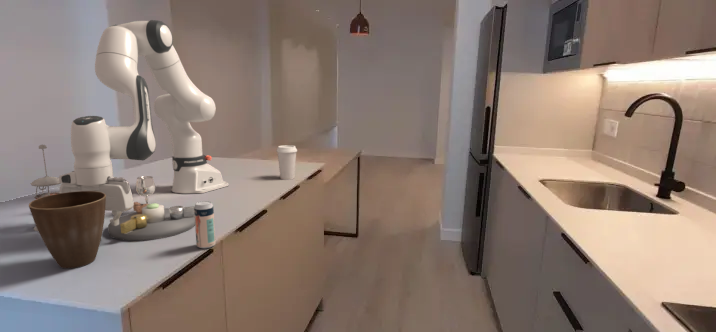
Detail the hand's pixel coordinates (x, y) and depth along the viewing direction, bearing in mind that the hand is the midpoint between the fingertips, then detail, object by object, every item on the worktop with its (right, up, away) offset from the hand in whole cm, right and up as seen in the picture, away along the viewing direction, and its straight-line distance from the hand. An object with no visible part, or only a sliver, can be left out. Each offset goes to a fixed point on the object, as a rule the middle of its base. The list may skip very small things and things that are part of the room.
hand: (100, 224), depth 115 cm
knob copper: (+4, +1, +15) cm, 16 cm away
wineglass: (+1, 0, +24) cm, 24 cm away
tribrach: (+10, -2, +10) cm, 15 cm away
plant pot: (+4, -7, -16) cm, 18 cm away
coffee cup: (+40, +10, +76) cm, 87 cm away
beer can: (+32, -6, -5) cm, 32 cm away
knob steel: (+19, +1, +13) cm, 22 cm away
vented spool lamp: (-21, -2, +10) cm, 23 cm away
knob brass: (+9, -2, +1) cm, 9 cm away
